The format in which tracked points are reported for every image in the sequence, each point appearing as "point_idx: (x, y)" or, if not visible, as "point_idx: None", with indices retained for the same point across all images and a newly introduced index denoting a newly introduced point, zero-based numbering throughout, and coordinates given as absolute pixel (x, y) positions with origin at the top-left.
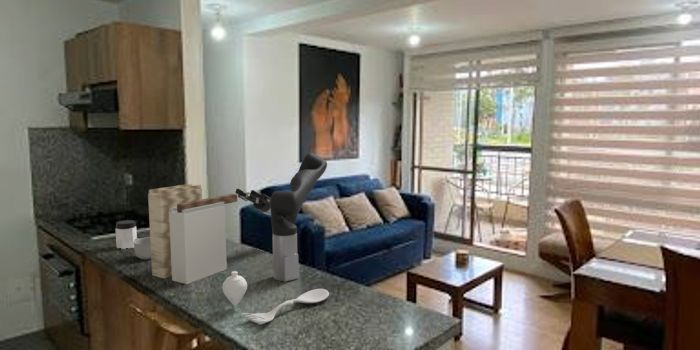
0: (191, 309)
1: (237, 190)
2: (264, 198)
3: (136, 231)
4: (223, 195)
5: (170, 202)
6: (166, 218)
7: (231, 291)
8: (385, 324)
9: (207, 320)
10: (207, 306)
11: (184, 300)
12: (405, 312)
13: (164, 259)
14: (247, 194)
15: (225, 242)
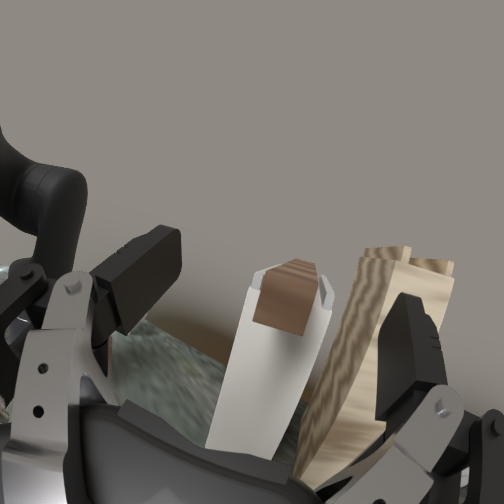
0: (182, 343)
1: (391, 311)
2: (6, 346)
3: None
4: (315, 277)
5: (358, 279)
6: (345, 314)
7: None
8: (4, 277)
9: (154, 326)
10: (165, 345)
11: (204, 361)
12: None
13: (314, 391)
14: (359, 465)
15: (215, 410)
